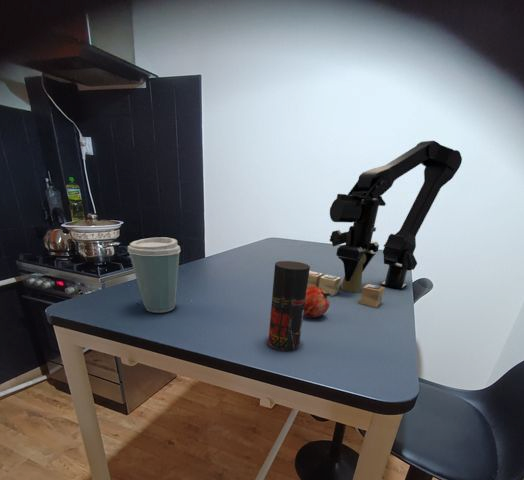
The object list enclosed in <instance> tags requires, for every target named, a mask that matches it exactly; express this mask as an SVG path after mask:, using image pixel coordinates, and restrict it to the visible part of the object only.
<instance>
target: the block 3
mask: <svg viewBox="0 0 524 480" xmlns="http://www.w3.org/2000/svg"><path fill="white" fill-rule="evenodd" d="M385 289H386V286H380V285H376V284H370V283H367V284H366V285H364V286H363V287H362V289H361V294H360V299H359V304H360V305H363V306H368V307H372V308H377V307H379V306H380V305H381V304H382V301H383V297H384V293H385Z"/></svg>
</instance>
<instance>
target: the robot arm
mask: <svg viewBox="0 0 524 480" xmlns="http://www.w3.org/2000/svg"><path fill="white" fill-rule="evenodd" d="M462 163H463V157H462V154H461V152H460V151H459V150H457V149H455V150H454V149H453V148H451V147H447V146H445V145H442V144H441V143H439V142H437V141H436V140H425V141H424V140H423V141H420V142H419V143H417V144H416V145H415V146H414V147H412V148H410V149H409V150H406V151H405V152H404V153H402V154H401V155H399V156H397V157H396V158H394V159H393V160H391V161H390V162H388V163H387V164H385V165H381V166H378V167H373V168H371V169H368V170H365V171H363V172H362V173H361V174H359V175H358V180H357V181H356V183H354V185H353V187H352V188H351V189H350V191H349V192H348V193H347V194H345V193H337V195H336V198H335V199H334V200H333V201H332V203H331V206H330V208H329V217H330V218H329V219H330V220H331V221H332V222H333V223H350V224H351V223H352V225H350V226H349V228H348V230H347V231H344V232H341V230H340V229H337V230H333V231H332V232H331V235H329V236H330V238H329V242H331V246H332V247H337V246H339V247H337V249H336V254H335V255H336V257H338V259H339V260H340V261H341V262H342V263H343V270H344V271H343V272H344V276H345V280H346V281H348V282H349V281H350V279H351V278H352V276H353V274H354V272H355V271H356V269H357V267H358V265H359V263H360V262H361V260H362V259H360V258H361V257H362V255H363V253H364V254H365V255H366V261H365V263H364V264H363V269H362V273H363V272H364V271H365V270H366V268H367V267H368V265H369V263H370V262H371V261H372V259H373V258H374V257H375V255H376V254H377V253H378V252H379V248H380V244H379V242H378V241H375V240H372V239H373V234H374V232H376V230H377V227H375V226H376V221H377V216H378V212H379V209H380V208H379V207H385V206H386V202H385V200H384V199H383V197H382V196H383V195H384V194H385V193H386V192H387V191H388V190H390V189H391V188H392V187H393V184H394V183H395V181H396V180H398V179H399V178H401V177H402V176H404V175H405V174H407V173H408V172H410V171H411V170H413V169H415V168H416V167H419V166H420V165H422V166H423V167H425V168H424V170H423V184H422V185H421V187H420V189H419V191H418V194H417V195H416V197H415V199H414V201H413V203H412V205H411V207H410V209H409V211H408V213H407V215H406V217H405V220H404V221H403V223H402V225H401V226H400V229H399V231H397V232H396V233H390V234H389V235H388V237H387V240H386V242H385V243H384V245H383V250H382V255H383V264H384V265H386V266H387V265H388V268H387V273H386V276H385V280H384V281H382V282H381V286H383V287H388V288H393V289H398V290H403V289H404V288H405V287H406V286H407V283H405V280H406V277H407V273H408V271H413V270H415V268H416V267H417V265H418V262H417V260H416V257H415V255H414V252H415V249H416V247H417V243H416V242H417V241H416V240H417V239H416V236H417V234H418V232H419V231H420V230H421V229H420V228H421V227H422V225H423V223H424V221H425V219H426V217H427V216H428V214H429V212H430V210H431V208H432V207H433V204H434V202H435V200H436V198H437V196H438V194H439V193H440V190H441V188H442V187H444V186H445V185H447V183H449V182H450V181H451V180H452V179H453V178H454V176H455V175H456V174H457V172H458V170H459V169H460V167H461V165H462Z"/></svg>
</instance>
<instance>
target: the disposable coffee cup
mask: <svg viewBox="0 0 524 480" xmlns="http://www.w3.org/2000/svg"><path fill="white" fill-rule="evenodd" d="M181 251H182V250H181V246H180V245H179V244H178V240H177V239H176V238H173V237H163V236H162V237H148V238H142V239H137V240H134V241H132V242H130V243H129V245H127V253H128V254H129V257H130V261H131V264H132V268H133V272H134V275H135V279H136V282H137V285H138V288H139V292H140V296H141V299H142V303H143V306H144V307H145V310H146V311H148V312H150V313H157V314H163V313H168V312H171V311H173V310H174V309H175V307H176V304H177V293H178V292H177V291H178V278H179V265H180V253H181Z"/></svg>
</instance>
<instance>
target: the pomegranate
mask: <svg viewBox="0 0 524 480" xmlns="http://www.w3.org/2000/svg"><path fill="white" fill-rule="evenodd" d="M329 295H330V297H333V296H332V295H331V294H330V293H325V291H324V290H323V289H321V288H318V287H315V286H309V287H307V291H306V299H305V306H304V313H303V316H305V317H307V318H311V319H314V318H315V319H316V318H318V317H320V316H323V315H324V314H326V313H327V311H328V310H329V307H330V299H329Z"/></svg>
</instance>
